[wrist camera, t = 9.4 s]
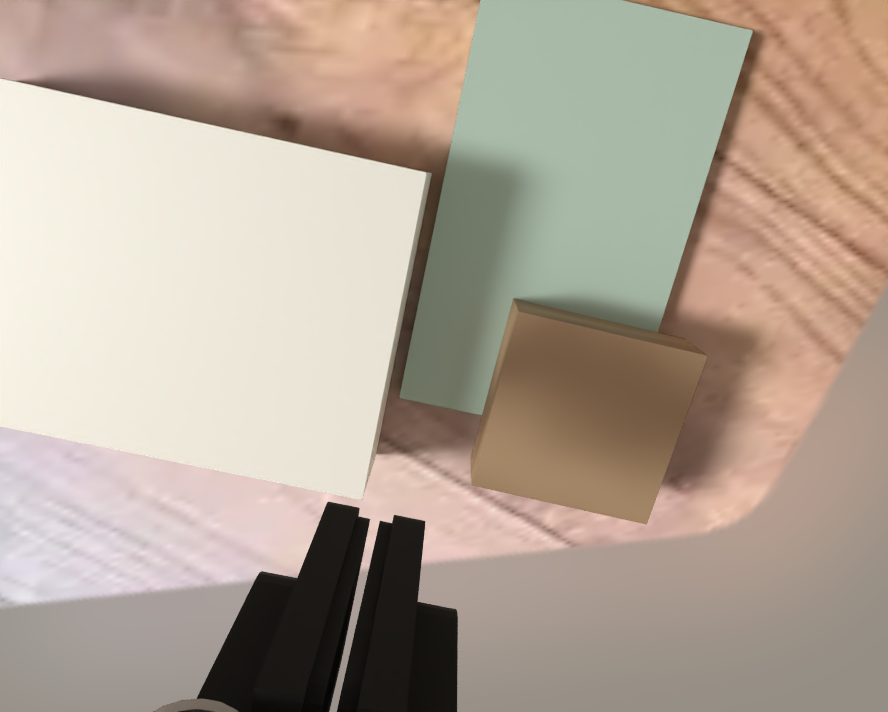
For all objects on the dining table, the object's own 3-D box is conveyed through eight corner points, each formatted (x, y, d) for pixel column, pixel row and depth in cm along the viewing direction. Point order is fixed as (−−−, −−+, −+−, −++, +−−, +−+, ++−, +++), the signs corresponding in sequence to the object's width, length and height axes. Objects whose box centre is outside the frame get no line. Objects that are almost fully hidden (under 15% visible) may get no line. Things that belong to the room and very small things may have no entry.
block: (707, 356, 23) (684, 338, 25) (518, 311, 23) (513, 298, 25) (646, 524, 25) (630, 493, 27) (471, 485, 24) (470, 457, 27)
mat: (486, -26, 22) (487, -32, 22) (745, 34, 23) (752, 30, 22) (400, 393, 27) (399, 397, 26) (618, 439, 27) (622, 444, 27)
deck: (13, 80, 24) (-73, 62, 20) (432, 173, 24) (426, 172, 20) (7, 378, 27) (-68, 412, 23) (375, 454, 28) (362, 499, 24)
